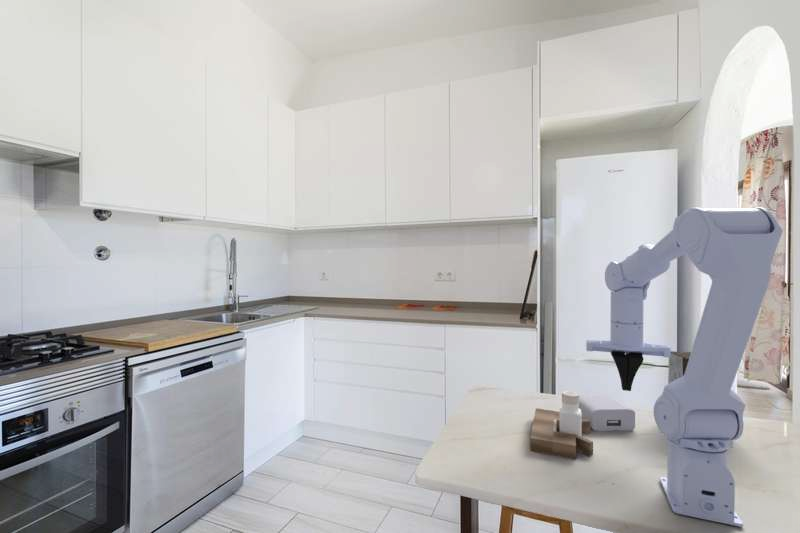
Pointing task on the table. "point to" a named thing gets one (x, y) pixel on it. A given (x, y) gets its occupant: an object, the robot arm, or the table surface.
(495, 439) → the table surface
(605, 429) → the charger
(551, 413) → the locating nest
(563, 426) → the pepper shaker
